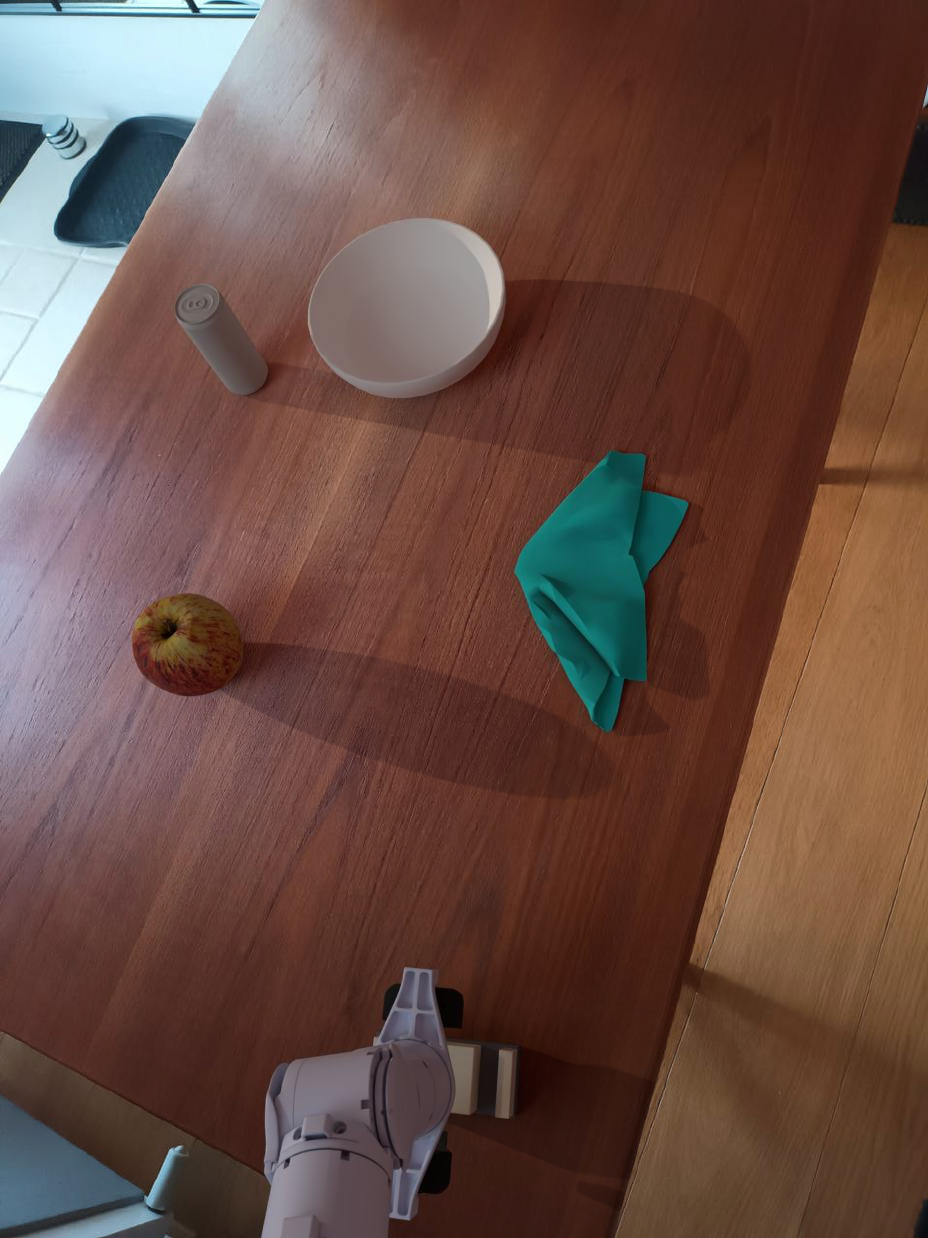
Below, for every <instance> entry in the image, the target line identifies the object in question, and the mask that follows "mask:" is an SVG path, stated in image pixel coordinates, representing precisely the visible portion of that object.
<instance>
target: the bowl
mask: <svg viewBox="0 0 928 1238" xmlns="http://www.w3.org/2000/svg"><path fill="white" fill-rule="evenodd" d="M506 293H507V291H506V280H505V272H504V269H503V266H502V264H501V260H500V258H499V256H498V255H497V253H496V252H495V251H494V249H493V247H492V246H491V245H490V243H489V242H487V241H486V240H485V239H484V238H483V237H482V236H481V235H479V233H478V232H477V233H476V232H475V231H473V230H472V229H471V228H468V227H466V226H464V225H463V224H459V223H455V222H454V221H450V220H447V219H441V218H432V217H414V218H413V217H412V218H411V217H410V218H405V219H401V220H395V221H391V222H388V223H385V224H382V225H379V226H376V227H373V228H372V229H370V230H368V231H366V232H365V233H362V234H360V235H359V236H357V237H356V238H354V239H353V240H351V241H350V242H349V243H348V244H346V245H345V246H344V247H342V248H341V249H340V250H339V251H338V252H337V253H336V254H335V255H334V256H333V257H332V258H331V259H330V260H328V263H327V264H326V266H324V268H323V270H322V271H321V273H320V274H319V276H318V277H317V280H316V282H315V284H314V286H313V289H312V291H311V294H310V299H309V302H308V307H307V326H308V330H309V334H310V339H311V341H312V343H313V345H314V348H315V349H316V351H317V353H318V355H319V356H321V358H322V359H323V361H324V362H325V363H326V365H327V366H328V367H329V368H330V369H331V370H332V371H333V372H334V373H335V375H337V376H338V377H339V378H341V379H342V380H344V381H345V382H347V383H348V384H350V385H351V386H354V388H356V389H358V390H361V391H363V392H365V393H367V394H371V395H373V396H378V397H382V398H388V399H410V398H416V397H423V396H427V395H430V394H433V393H435V392H439V391H442V390H444V389H446V388H448V387H451V386H452V385H454V384H456V383H458V382H459V381H461V380H462V379H464V378H465V377H466V376H468V374H470V373H471V372H473V371H474V370H475V369H476V368H477V367H478V366H479V365H480V363H481V362H482V361H483V360H484V359H485V358H486V357H487V355H488V354H489V352H490V351H491V349H492V347H493V346H494V344H495V343H496V340H497V338H498V335H499V332H500V329H501V327H502V324H503V320H504V317H505V311H506V304H507V294H506Z"/></svg>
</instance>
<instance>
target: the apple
mask: <svg viewBox="0 0 928 1238" xmlns="http://www.w3.org/2000/svg"><path fill="white" fill-rule="evenodd" d="M131 645H132V646H131V647H132V648H131V649H132V655H133V658H134V659H133V660H134V661H135V664H136V666H137V668H138V670H139V671H140V673H141V675H142V676H143V677H144V678H145V679H146V680H147V681H149V682H150V683H151V684H152V685H153V686H156V687H157V688H159V689H160V690H162V691H165V692H167V693H170V694H173V695H176V696H179V697H199V696H205V695H209V694H211V693H214V692H216V691H219V690H221V689H223V688H224V687H226V685H228V684H229V683H230V682H231V681H232V679H234V677H235V676H236V674H237V673H238V671H239V670H240V669H241V666H242V663H243V660H244V640H243V636H242V632H241V629H240V628H239V625H238V624H237V622H236V620H235V618H234V617H233V615H232V614H231V613H230V611H229V610H228V609H227V608H226V607H225V606H223V605H222V604H221V603H219V602H218V601H215V600H214V599H212V598H210V597H207V596H205V595H201V594H198V593H191V592H184V593H177V594H173V595H169V596H166V597H163V598H160V599H158V600H156V601H153V602H152V603H150V604H148V605H147V606H146V607H145V608H144V609H143V610H142V611H141V613H140V614H139V615H138V617H137V619H136V620H135V622H134V625H133V628H132V633H131Z"/></svg>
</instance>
